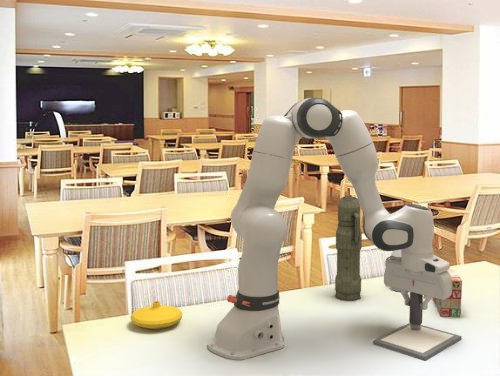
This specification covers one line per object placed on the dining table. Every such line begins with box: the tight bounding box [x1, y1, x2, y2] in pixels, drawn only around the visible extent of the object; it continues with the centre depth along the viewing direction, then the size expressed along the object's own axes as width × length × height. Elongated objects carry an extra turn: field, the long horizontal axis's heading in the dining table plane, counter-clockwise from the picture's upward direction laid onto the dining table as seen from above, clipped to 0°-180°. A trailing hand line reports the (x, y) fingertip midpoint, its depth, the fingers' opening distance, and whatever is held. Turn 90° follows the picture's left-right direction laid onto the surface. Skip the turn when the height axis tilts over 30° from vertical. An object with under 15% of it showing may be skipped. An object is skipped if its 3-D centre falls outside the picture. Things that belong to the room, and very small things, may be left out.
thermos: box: [334, 196, 363, 302], centre depth 205 cm, size 9×12×35 cm
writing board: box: [372, 322, 462, 361], centre depth 167 cm, size 20×16×1 cm
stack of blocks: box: [431, 269, 463, 318], centre depth 196 cm, size 21×6×12 cm, turn 171°
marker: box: [408, 280, 424, 329], centre depth 173 cm, size 4×4×14 cm
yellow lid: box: [130, 300, 183, 330], centre depth 183 cm, size 16×16×7 cm
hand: (415, 307), depth 173 cm, fingers closed on marker, 4 cm apart
